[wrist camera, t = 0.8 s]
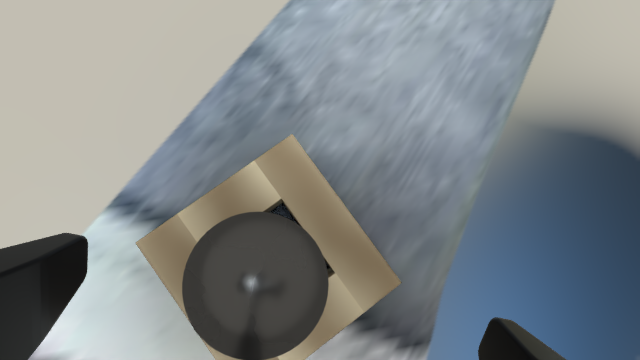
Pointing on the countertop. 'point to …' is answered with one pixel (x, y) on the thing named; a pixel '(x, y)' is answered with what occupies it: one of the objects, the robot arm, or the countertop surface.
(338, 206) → the housing
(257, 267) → the capped cylinder
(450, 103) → the countertop surface
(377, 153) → the countertop surface
